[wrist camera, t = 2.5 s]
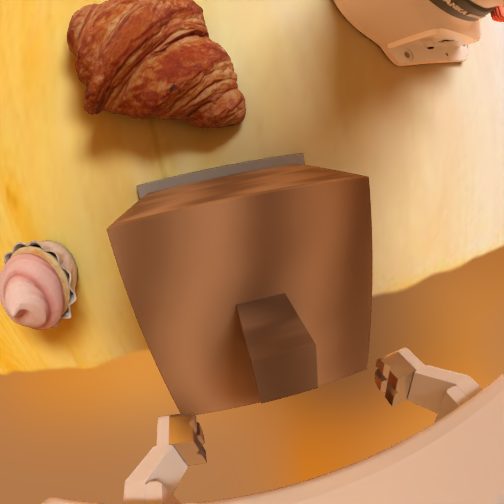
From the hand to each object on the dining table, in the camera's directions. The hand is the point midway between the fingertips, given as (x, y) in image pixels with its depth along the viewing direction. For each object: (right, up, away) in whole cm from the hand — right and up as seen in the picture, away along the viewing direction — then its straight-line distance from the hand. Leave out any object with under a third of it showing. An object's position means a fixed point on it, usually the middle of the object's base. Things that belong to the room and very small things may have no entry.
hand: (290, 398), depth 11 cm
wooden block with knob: (-3, +7, +18) cm, 19 cm away
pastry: (-11, +24, +12) cm, 29 cm away
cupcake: (-23, +4, +16) cm, 28 cm away
